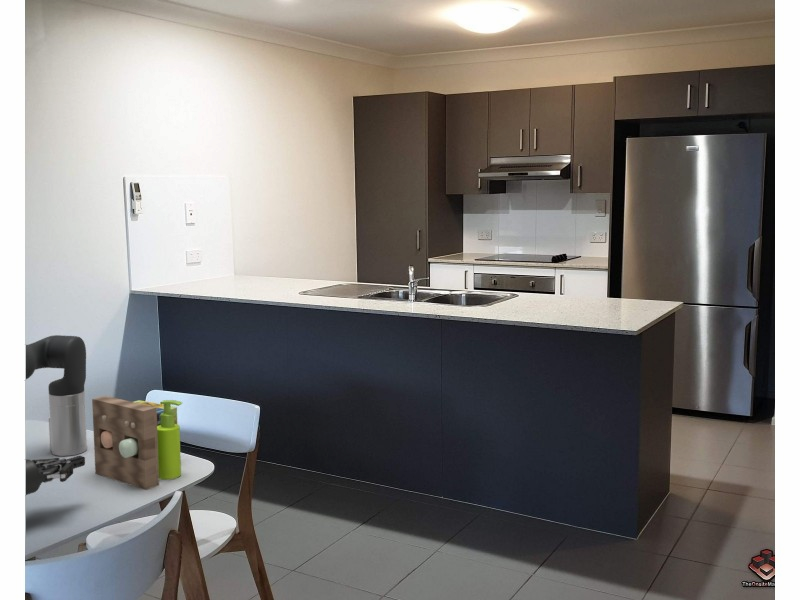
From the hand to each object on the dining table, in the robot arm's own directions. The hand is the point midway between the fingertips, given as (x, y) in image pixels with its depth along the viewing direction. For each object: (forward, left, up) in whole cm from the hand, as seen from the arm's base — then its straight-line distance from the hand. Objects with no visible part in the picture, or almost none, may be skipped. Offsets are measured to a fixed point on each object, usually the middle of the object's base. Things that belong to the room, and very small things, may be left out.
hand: (82, 460), depth 180 cm
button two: (+1, +13, -2) cm, 13 cm away
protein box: (-11, +26, -10) cm, 30 cm away
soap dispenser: (+3, +23, -10) cm, 26 cm away
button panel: (-4, +15, -10) cm, 19 cm away
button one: (-9, +15, -2) cm, 18 cm away
